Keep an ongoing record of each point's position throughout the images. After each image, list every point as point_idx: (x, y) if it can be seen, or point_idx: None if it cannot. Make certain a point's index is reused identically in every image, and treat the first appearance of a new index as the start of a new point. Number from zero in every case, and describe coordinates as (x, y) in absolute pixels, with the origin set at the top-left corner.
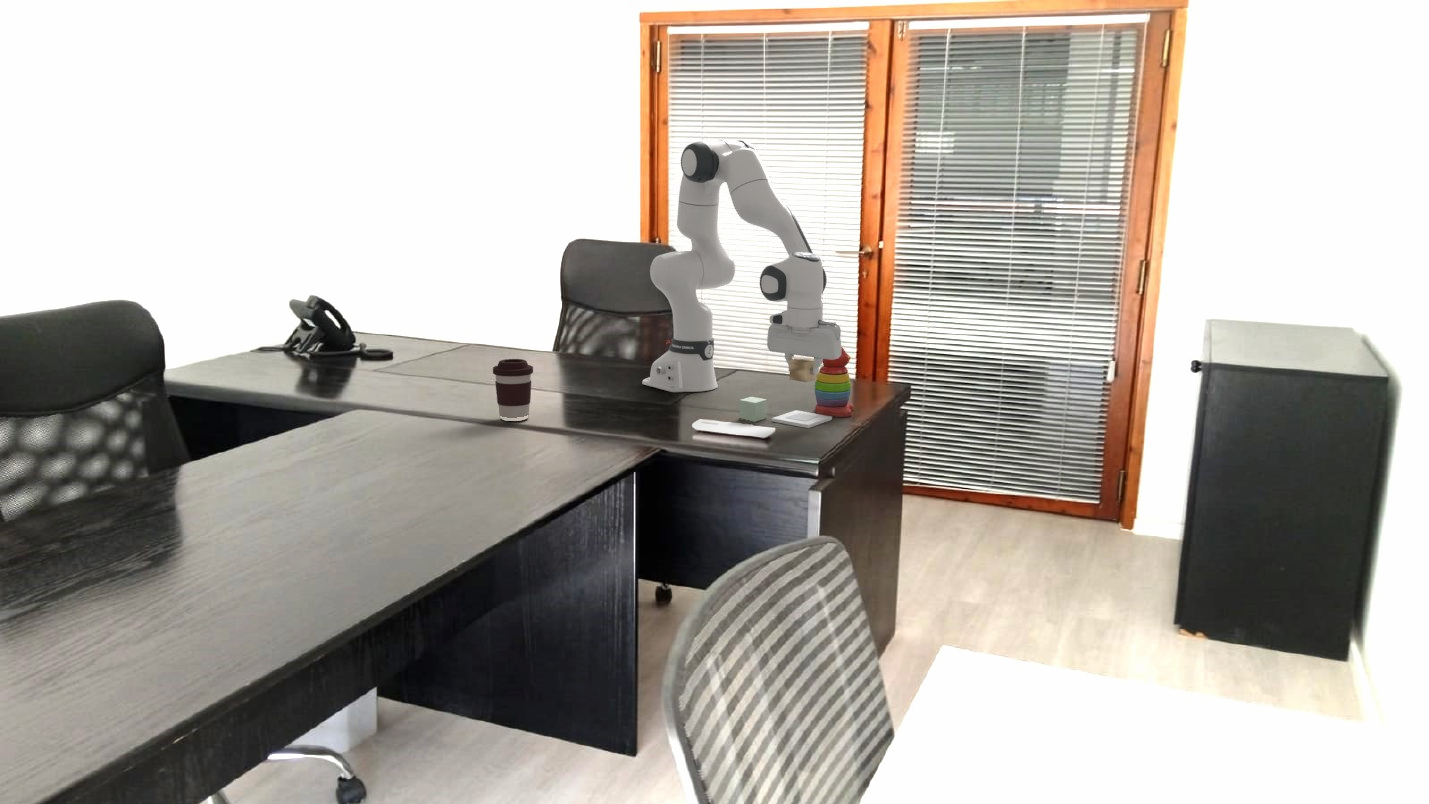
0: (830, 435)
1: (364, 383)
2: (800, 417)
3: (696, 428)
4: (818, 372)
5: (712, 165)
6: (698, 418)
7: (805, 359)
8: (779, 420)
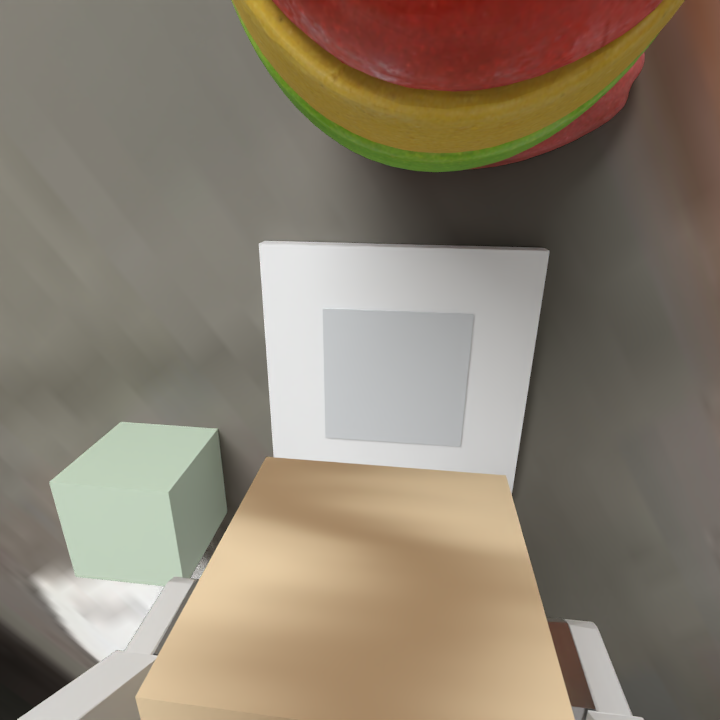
0: (673, 539)
1: None
2: (392, 393)
3: None
4: (599, 636)
5: None
6: (25, 577)
7: None
8: None
